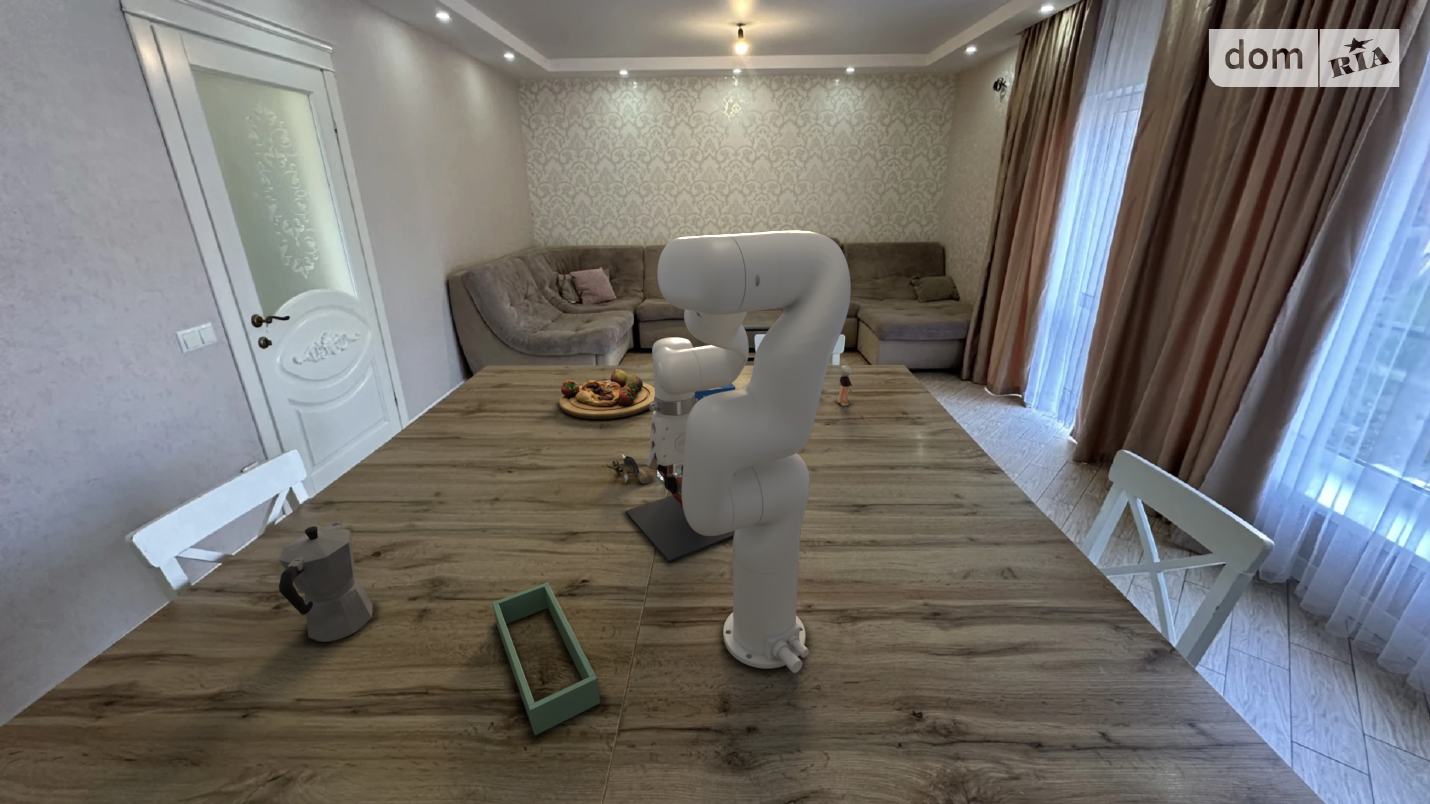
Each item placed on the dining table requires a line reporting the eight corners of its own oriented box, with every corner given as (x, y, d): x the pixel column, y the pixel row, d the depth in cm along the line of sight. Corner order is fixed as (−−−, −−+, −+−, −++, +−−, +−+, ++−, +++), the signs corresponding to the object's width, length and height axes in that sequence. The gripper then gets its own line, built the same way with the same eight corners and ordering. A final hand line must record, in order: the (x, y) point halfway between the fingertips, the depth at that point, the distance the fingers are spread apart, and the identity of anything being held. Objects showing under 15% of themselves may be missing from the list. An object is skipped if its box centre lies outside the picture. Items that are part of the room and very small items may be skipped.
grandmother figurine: (831, 401, 177) (833, 363, 172) (840, 399, 178) (843, 361, 173) (846, 409, 170) (848, 370, 165) (856, 406, 172) (859, 368, 167)
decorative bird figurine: (700, 529, 105) (697, 484, 101) (650, 492, 118) (646, 451, 114) (712, 523, 107) (709, 478, 103) (662, 487, 120) (658, 446, 116)
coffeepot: (333, 596, 95) (303, 506, 89) (390, 591, 96) (364, 502, 89) (276, 668, 81) (235, 567, 74) (344, 662, 82) (309, 562, 75)
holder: (600, 703, 74) (597, 678, 73) (534, 735, 70) (529, 710, 68) (551, 603, 92) (547, 581, 91) (496, 624, 88) (491, 602, 87)
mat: (740, 534, 110) (740, 532, 109) (669, 563, 102) (668, 560, 102) (690, 491, 126) (690, 489, 125) (625, 513, 118) (625, 510, 118)
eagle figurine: (604, 481, 128) (637, 481, 125) (606, 451, 130) (639, 450, 126) (622, 484, 135) (654, 484, 131) (624, 455, 137) (656, 454, 133)
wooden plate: (539, 415, 170) (535, 390, 167) (590, 382, 198) (587, 360, 195) (634, 426, 161) (631, 399, 158) (673, 389, 189) (671, 366, 186)
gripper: (644, 419, 97) (650, 509, 104) (722, 400, 105) (723, 484, 112) (627, 406, 103) (634, 491, 110) (702, 389, 111) (704, 469, 118)
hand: (679, 487), depth 111 cm, fingers closed on decorative bird figurine, 3 cm apart
